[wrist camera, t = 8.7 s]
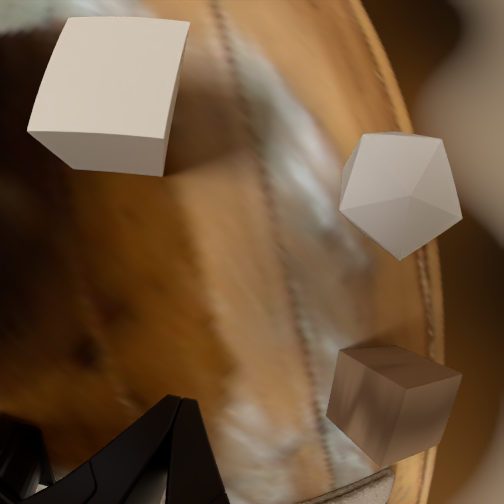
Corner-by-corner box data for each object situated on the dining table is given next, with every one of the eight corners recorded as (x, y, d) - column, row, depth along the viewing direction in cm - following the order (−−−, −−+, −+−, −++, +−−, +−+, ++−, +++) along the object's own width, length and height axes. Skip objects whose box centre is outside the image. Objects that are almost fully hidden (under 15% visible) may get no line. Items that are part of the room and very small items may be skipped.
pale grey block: (162, 176, 19) (163, 138, 11) (73, 169, 17) (27, 131, 10) (177, 92, 19) (190, 22, 11) (93, 86, 17) (68, 17, 9)
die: (410, 237, 25) (481, 161, 18) (388, 303, 20) (494, 214, 12) (338, 178, 26) (398, 90, 19) (295, 227, 21) (375, 108, 13)
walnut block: (380, 405, 25) (438, 443, 17) (325, 415, 23) (380, 467, 15) (394, 345, 25) (462, 373, 17) (338, 349, 23) (406, 389, 15)
